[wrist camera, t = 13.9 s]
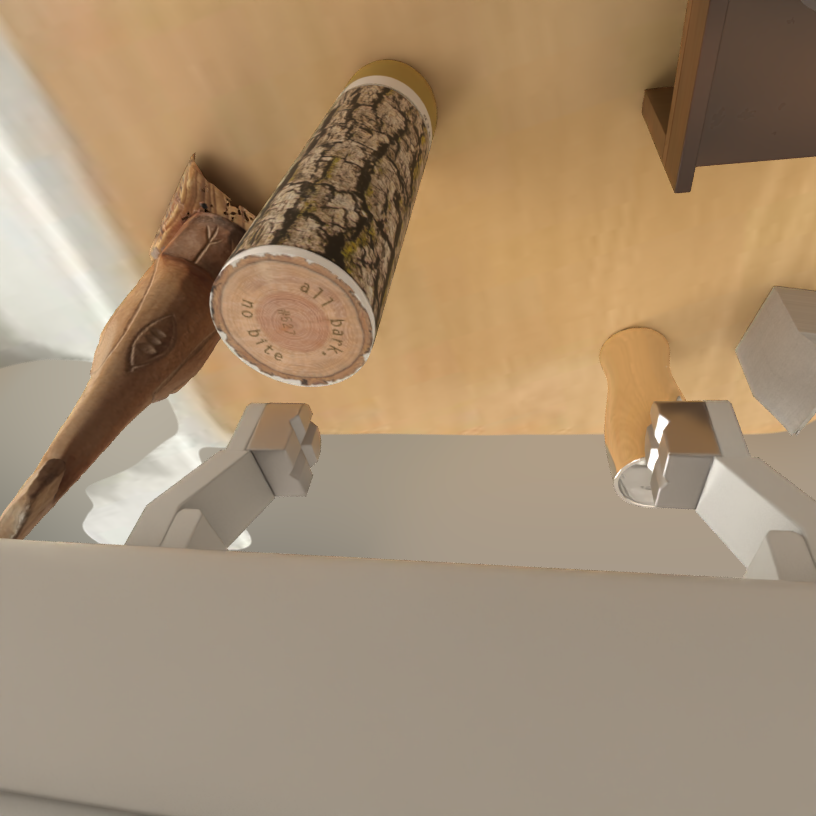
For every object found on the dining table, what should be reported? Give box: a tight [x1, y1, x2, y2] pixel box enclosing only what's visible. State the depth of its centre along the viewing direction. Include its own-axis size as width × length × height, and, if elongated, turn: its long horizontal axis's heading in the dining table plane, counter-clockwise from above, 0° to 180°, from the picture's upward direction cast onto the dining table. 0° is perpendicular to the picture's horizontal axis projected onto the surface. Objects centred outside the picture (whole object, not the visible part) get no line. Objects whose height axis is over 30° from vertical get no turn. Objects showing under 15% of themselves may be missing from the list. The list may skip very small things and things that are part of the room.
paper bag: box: [735, 286, 816, 436], centre depth 44 cm, size 4×7×10 cm, turn 177°
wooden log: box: [210, 60, 437, 387], centre depth 32 cm, size 7×7×25 cm
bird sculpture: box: [0, 153, 256, 540], centre depth 39 cm, size 11×12×32 cm
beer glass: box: [599, 327, 686, 508], centre depth 47 cm, size 7×7×15 cm
